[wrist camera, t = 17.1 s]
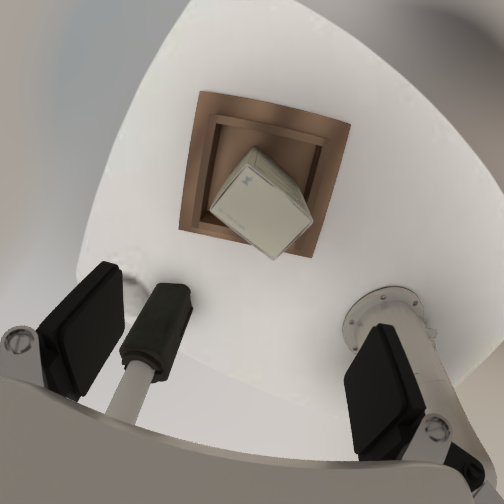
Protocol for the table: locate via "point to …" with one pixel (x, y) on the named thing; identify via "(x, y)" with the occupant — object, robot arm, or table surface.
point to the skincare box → (262, 204)
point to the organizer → (273, 145)
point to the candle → (150, 348)
